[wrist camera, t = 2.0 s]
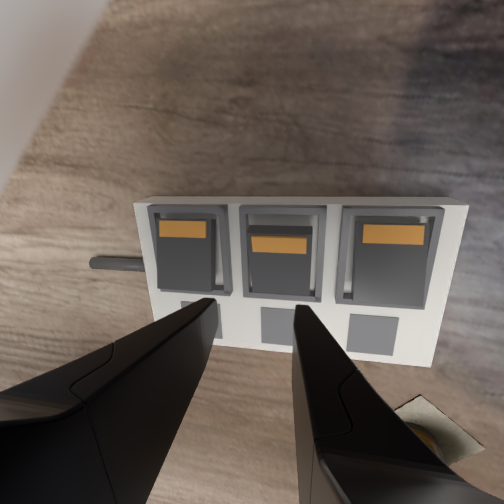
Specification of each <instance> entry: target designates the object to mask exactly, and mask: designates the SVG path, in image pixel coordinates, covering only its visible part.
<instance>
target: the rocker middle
mask: <svg viewBox="0 0 504 504" xmlns="http://www.w3.org/2000/svg"><path fill="white" fill-rule="evenodd" d="M246 235H247V244H248V253H249V263H250V272H251V281H252V290H253V292H256V293H271V294H286V295H301V296H310V277H311V257H312V237H313V226H279V225H249V227H248V230H247V233H246Z"/></svg>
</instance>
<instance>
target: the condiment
mask: <svg viewBox="0 0 504 504" xmlns="http://www.w3.org/2000/svg"><path fill="white" fill-rule="evenodd" d="M394 412H395V413H396V414H397V415H398V416H399V417H400V418H401V419H402V420H403V421H404V422H405V423H406V424H407V425H408V426H409V427H410V428H411V429H412V430H413V431H414V432H415V433H416V434H417V435H418V436H419V437H420V438H421V439H422V440H423V442H424V443H425V444H426V445H427V446H428V447H429V448H430V449H431V450H432V451H433V452H434V453H435V454H436V455H437V456H438V457H439V458H440V459H441V460H442V461H443V462H444V463H445V464H446V465H447V466H450V465H451V464H452V463H454V462H457V461H459V460H460V459H463V458H465V457H468V456H472V455H475V454H477V453H478V452H481V451H483V450H485V449H484V448H483V447H482V446H481V445H480V444H478V442H477V441H476V440H474V439H473V438H472V437H471V436H470V435H468V434H467V433H466V432H465V431H464V430H463V429H462V428H460V427H459V426H458V425H457V424H455V423H454V422H453V421H452V420H450V419H449V418H448V417H447V416H446V415H444V414H443V413H442V412H440V411H439V410H438V409H437V408H436V407H435V406H433V405H432V404H431V403H429V402H428V401H427V400H426V399H424V398H423V397H422V396H419V397H417V398H415V399H414V400H413V401H411V402H409V403H407V404H405V405H404V406H403V407H401V408H399V409H397V410H395V411H394ZM412 420H413V421H415V422H412ZM417 420H420V421H421V422H417Z"/></svg>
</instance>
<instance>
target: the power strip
mask: <svg viewBox="0 0 504 504" xmlns="http://www.w3.org/2000/svg"><path fill="white" fill-rule="evenodd" d="M133 205H134V211H135V216H136V222H137V227H138V233H139V239H140V244H141V250H142V255H143V259H127V258H106V257H92V258H91V259H90V262H89V265H90V267H91V268H92V269H105V270H123V271H140V272H146V278H147V283H148V289H149V294H150V300H151V305H152V311H153V317H154V322H155V321H157V320H159V319H161V318H163V317H165V316H167V315H169V314H171V313H173V312H175V311H177V310H179V309H181V308H183V307H185V306H187V305H189V304H192V303H194V302H196V301H198V300H200V299H202V298H205V297H206V298H215V299H216V301H217V307H218V319H219V322H218V328H217V331H216V335H215V338H214V341H213V344H212V345H221V346H230V347H240V348H250V349H259V350H269V351H278V352H288V353H292V349H293V320H294V312H295V306H296V305H297V304H301V305H309V306H310V307H311V309H312V310H313V311H314V312H315V314H316V315H317V316H318V318H319V319H320V320H321V322H322V323H323V324H324V325H325V327H326V328H327V329H328V331H329V332H330V333H331V334H332V336H333V337H334V338H335V340H336V341H337V342H338V344H339V345H340V346H341V347H342V349H343V350H344V351H345V353H346V354H347V355H348V356H349V358H350V359H355V360H365V361H375V362H384V363H394V364H403V365H413V366H423V367H431V364H432V359H433V355H434V351H435V347H436V343H437V338H438V334H439V330H440V326H441V322H442V317H443V313H444V309H445V305H446V301H447V296H448V292H449V288H450V284H451V280H452V275H453V271H454V267H455V263H456V259H457V254H458V250H459V246H460V242H461V238H462V233H463V229H464V225H465V221H466V217H467V212H468V208H469V205H467V204H465V203H462V202H460V201H458V200H455V199H453V198H450V197H262V196H151V197H149V198H146V199H143V200H140V201H137V202H134V203H133ZM156 218H184V219H216V272H215V290H213V291H212V292H200V291H186V290H171V289H157V242H156ZM355 222H410V223H430V230H429V242H428V253H427V265H426V277H425V289H424V301H423V307H421V306H406V305H391V304H377V303H362V302H353V301H352V299H351V287H352V269H353V251H354V233H355ZM249 225H279V226H313V237H312V257H311V277H310V296H301V295H286V294H271V293H256V292H253V290H252V281H251V272H250V263H249V253H248V244H247V235H246V233H247V230H248V227H249Z"/></svg>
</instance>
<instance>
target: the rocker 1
mask: <svg viewBox="0 0 504 504" xmlns="http://www.w3.org/2000/svg"><path fill="white" fill-rule="evenodd" d="M156 242H157V289H171V290H186V291H200V292H212V291H213V290H215V272H216V219H184V218H156Z"/></svg>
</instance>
